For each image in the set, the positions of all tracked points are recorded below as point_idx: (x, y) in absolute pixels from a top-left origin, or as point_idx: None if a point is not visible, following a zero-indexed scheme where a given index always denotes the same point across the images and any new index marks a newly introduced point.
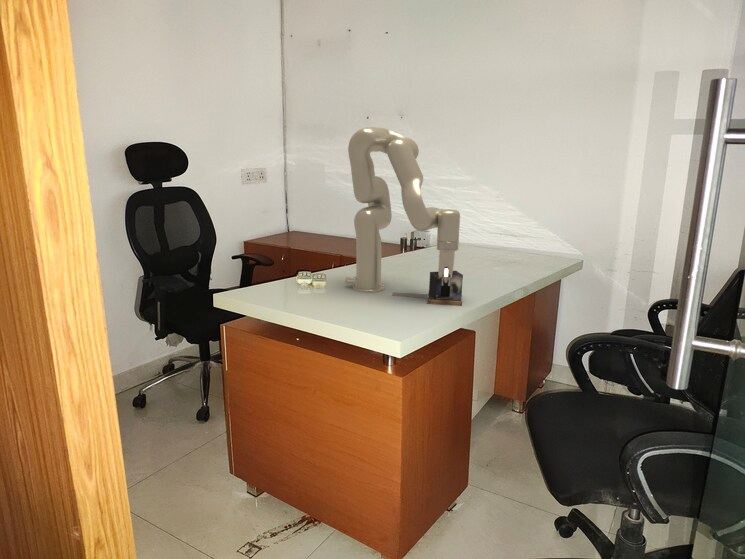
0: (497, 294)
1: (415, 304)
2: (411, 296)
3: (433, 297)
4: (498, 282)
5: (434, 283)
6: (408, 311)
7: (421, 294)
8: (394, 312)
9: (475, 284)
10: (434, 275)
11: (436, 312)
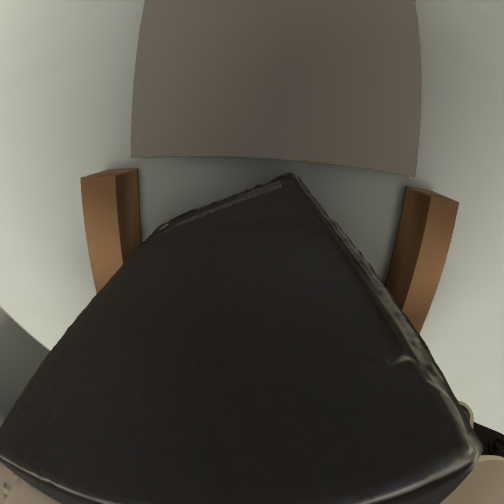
0: None
1: (134, 70)
2: (327, 21)
3: (160, 236)
4: None
5: (76, 339)
6: (8, 76)
7: (404, 119)
8: (3, 20)
9: (498, 394)
10: (18, 463)
11: (21, 242)
